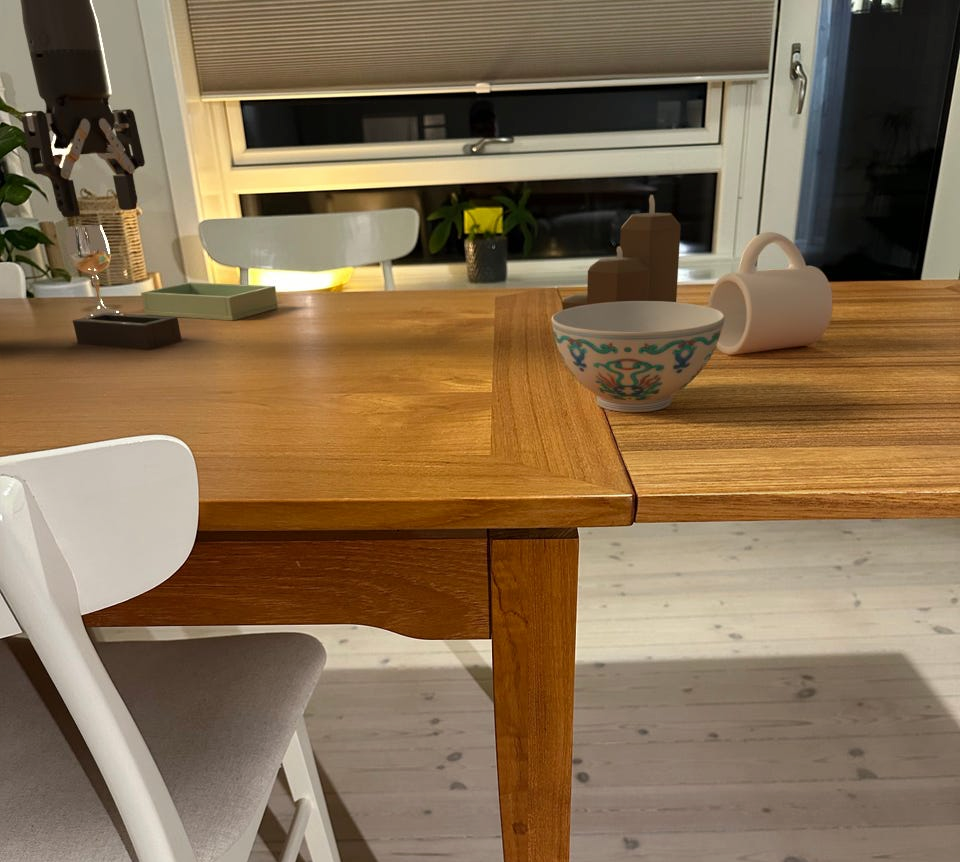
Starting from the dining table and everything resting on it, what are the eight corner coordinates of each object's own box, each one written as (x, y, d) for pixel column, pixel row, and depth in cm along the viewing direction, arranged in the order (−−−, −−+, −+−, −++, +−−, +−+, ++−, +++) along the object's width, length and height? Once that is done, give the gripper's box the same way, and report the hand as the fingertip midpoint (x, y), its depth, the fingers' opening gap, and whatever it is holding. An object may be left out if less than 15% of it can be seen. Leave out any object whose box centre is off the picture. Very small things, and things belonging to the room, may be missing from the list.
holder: (145, 314, 140) (140, 292, 139) (193, 303, 148) (189, 282, 146) (232, 320, 133) (229, 297, 132) (278, 308, 141) (275, 286, 139)
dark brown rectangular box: (79, 349, 119) (72, 320, 117) (112, 340, 123) (106, 312, 122) (150, 355, 114) (144, 325, 112) (183, 346, 118) (177, 317, 117)
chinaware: (601, 376, 97) (602, 296, 93) (743, 393, 89) (751, 307, 85) (520, 412, 86) (519, 323, 82) (674, 435, 78) (679, 338, 75)
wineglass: (130, 311, 143) (113, 224, 137) (98, 318, 139) (78, 228, 133) (106, 308, 146) (88, 224, 140) (74, 315, 142) (54, 227, 136)
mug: (827, 351, 103) (844, 231, 97) (746, 361, 100) (757, 238, 94) (781, 338, 110) (793, 225, 104) (703, 347, 107) (712, 231, 101)
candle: (647, 317, 124) (652, 190, 117) (703, 335, 113) (713, 196, 106) (551, 327, 120) (551, 197, 113) (599, 347, 109) (602, 203, 102)
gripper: (93, 53, 109) (123, 207, 117) (-15, 48, 99) (27, 219, 106) (140, 48, 106) (169, 207, 114) (35, 43, 95) (74, 219, 103)
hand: (100, 213), depth 110 cm, fingers open, 8 cm apart
